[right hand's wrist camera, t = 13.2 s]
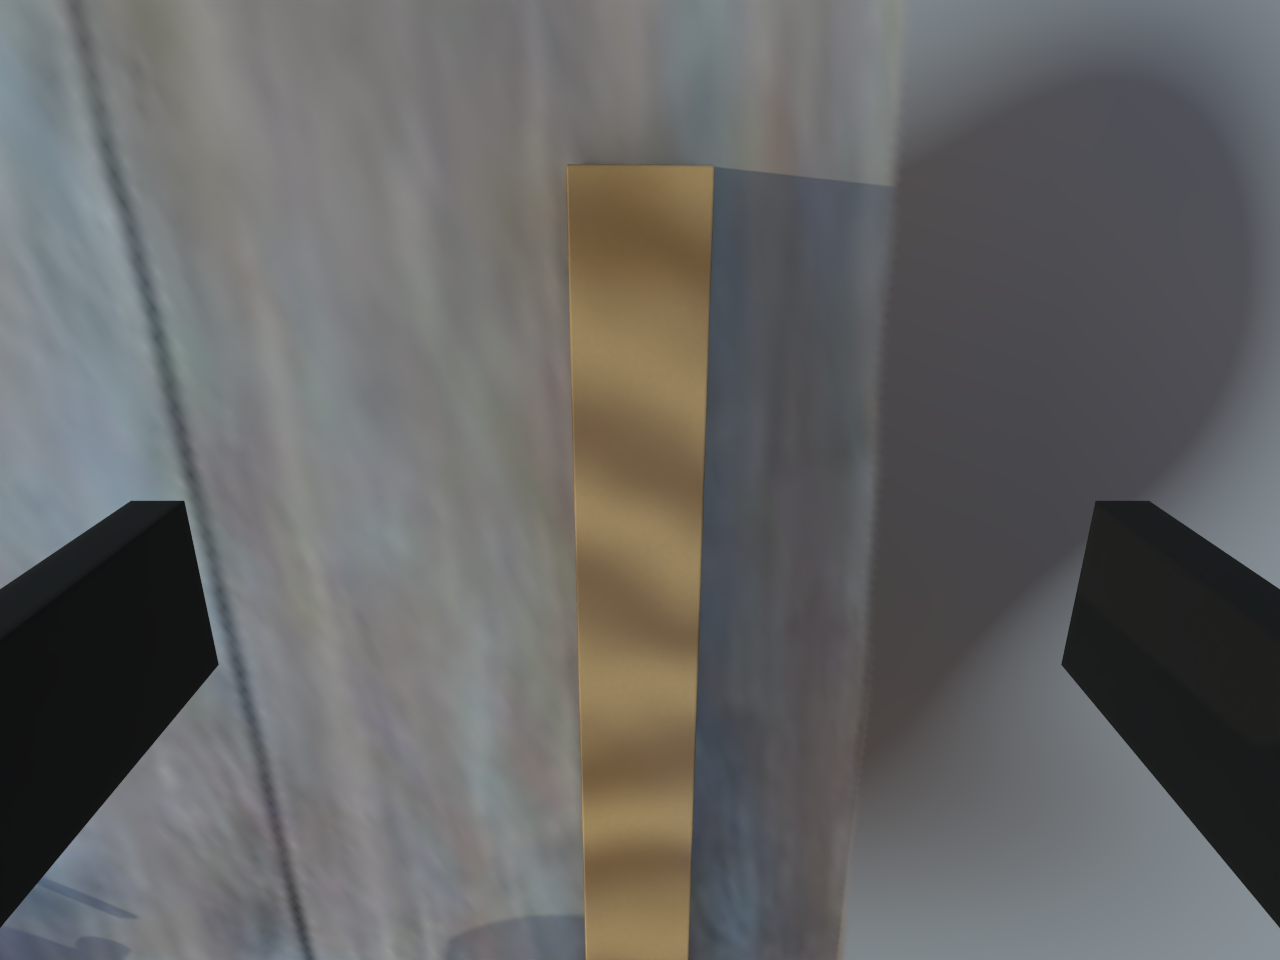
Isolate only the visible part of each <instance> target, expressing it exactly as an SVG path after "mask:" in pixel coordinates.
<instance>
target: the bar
mask: <svg viewBox="0 0 1280 960" xmlns="http://www.w3.org/2000/svg"><path fill="white" fill-rule="evenodd" d="M714 172H715V168H714V166H713V165H607V164H568V165H567V166H566V193H567V233H568V273H569V313H570V353H571V393H572V433H573V473H574V513H575V553H576V593H577V633H578V674H579V714H580V754H581V794H582V834H583V874H584V914H585V954H586V960H688V957H689V926H690V896H691V866H692V836H693V806H694V775H695V745H696V715H697V685H698V655H699V625H700V594H701V564H702V534H703V504H704V474H705V443H706V413H707V383H708V353H709V323H710V293H711V262H712V232H713V202H714Z"/></svg>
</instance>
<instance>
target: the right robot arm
mask: <svg viewBox="0 0 1280 960" xmlns="http://www.w3.org/2000/svg"><path fill="white" fill-rule="evenodd" d="M218 665H219V664H218V660H217V655H216V650H215V645H214V641H213V636H212V631H211V626H210V621H209V617H208V612H207V607H206V602H205V598H204V593H203V588H202V583H201V578H200V574H199V569H198V564H197V559H196V555H195V550H194V545H193V540H192V535H191V531H190V526H189V521H188V516H187V512H186V507H185V502H184V501H130V502H129V503H127V504H126V505H124V506H123V507H121V508H120V509H118V510H117V511H115V512H114V513H112V514H111V515H110V516H108V517H107V518H105V519H104V520H102V521H101V522H99V523H98V524H96V525H95V526H93V527H92V528H90V529H89V530H87V531H86V532H84V533H83V534H81V535H80V536H78V537H77V538H76V539H74V540H73V541H71V542H70V543H68V544H67V545H65V546H64V547H62V548H61V549H59V550H58V551H56V552H55V553H53V554H52V555H50V556H49V557H47V558H46V559H44V560H43V561H41V562H40V563H39V564H37V565H36V566H34V567H33V568H31V569H30V570H28V571H27V572H25V573H24V574H22V575H21V576H19V577H18V578H16V579H15V580H13V581H12V582H10V583H9V584H7V585H6V586H5V587H3V588H2V589H0V927H1V926H2V925H3V924H4V923H5V921H6V920H7V919H8V918H9V917H10V915H11V914H12V913H13V912H14V911H15V909H16V908H17V907H18V906H19V905H20V903H21V902H22V901H23V900H24V898H25V897H26V896H27V895H28V894H29V892H30V891H31V890H32V889H33V888H34V886H35V885H36V884H37V883H38V882H39V880H40V879H41V878H42V877H43V876H44V874H45V873H46V872H47V871H48V870H49V868H50V867H51V866H52V865H53V864H54V862H55V861H56V860H57V859H58V858H59V856H60V855H61V854H62V853H63V851H64V850H65V849H66V848H67V847H68V845H69V844H70V843H71V842H72V841H73V839H74V838H75V837H76V836H77V835H78V833H79V832H80V831H81V830H82V829H83V827H84V826H85V825H86V824H87V823H88V821H89V820H90V819H91V818H92V817H93V815H94V814H95V813H96V812H97V811H98V809H99V808H100V807H101V806H102V804H103V803H104V802H105V801H106V800H107V798H108V797H109V796H110V795H111V794H112V792H113V791H114V790H115V789H116V788H117V786H118V785H119V784H120V783H121V782H122V780H123V779H124V778H125V777H126V776H127V774H128V773H129V772H130V771H131V770H132V768H133V767H134V766H135V765H136V764H137V762H138V761H139V760H140V759H141V758H142V756H143V755H144V754H145V753H146V751H147V750H148V749H149V748H150V747H151V745H152V744H153V743H154V742H155V741H156V739H157V738H158V737H159V736H160V735H161V733H162V732H163V731H164V730H165V729H166V727H167V726H168V725H169V724H170V723H171V721H172V720H173V719H174V718H175V717H176V715H177V714H178V713H179V712H180V711H181V709H182V708H183V707H184V706H185V704H186V703H187V702H188V701H189V700H190V698H191V697H192V696H193V695H194V694H195V692H196V691H197V690H198V689H199V688H200V686H201V685H202V684H203V683H204V682H205V680H206V679H207V678H208V677H209V676H210V674H211V673H212V672H213V671H214V670H215V668H216V667H217V666H218ZM1062 666H1063V667H1064V668H1065V670H1066V671H1067V672H1068V673H1069V674H1070V676H1071V677H1072V678H1073V679H1074V680H1075V682H1076V683H1077V684H1078V685H1079V686H1080V688H1081V689H1082V690H1083V691H1084V692H1085V694H1086V695H1087V696H1088V697H1089V698H1090V700H1091V701H1092V702H1093V703H1094V704H1095V706H1096V707H1097V708H1098V709H1099V711H1100V712H1101V713H1102V714H1103V715H1104V716H1105V718H1106V719H1107V720H1108V721H1109V723H1110V724H1111V725H1112V726H1113V727H1114V729H1115V730H1116V731H1117V732H1118V733H1119V735H1120V736H1121V737H1122V738H1123V739H1124V741H1125V742H1126V743H1127V744H1128V745H1129V747H1130V748H1131V749H1132V750H1133V751H1134V753H1135V754H1136V755H1137V756H1138V758H1139V759H1140V760H1141V761H1142V762H1143V764H1144V765H1145V766H1146V767H1147V768H1148V770H1149V771H1150V772H1151V773H1152V774H1153V776H1154V777H1155V778H1156V779H1157V780H1158V782H1159V783H1160V784H1161V785H1162V786H1163V788H1164V789H1165V790H1166V791H1167V792H1168V794H1169V795H1170V796H1171V797H1172V798H1173V800H1174V801H1175V802H1176V803H1177V805H1178V806H1179V807H1180V808H1181V809H1182V810H1183V812H1184V813H1185V814H1186V815H1187V817H1188V818H1189V819H1190V820H1191V821H1192V823H1193V824H1194V825H1195V826H1196V827H1197V829H1198V830H1199V831H1200V832H1201V833H1202V835H1203V836H1204V837H1205V838H1206V839H1207V841H1208V842H1209V843H1210V844H1211V845H1212V847H1213V848H1214V849H1215V850H1216V851H1217V853H1218V854H1219V855H1220V856H1221V858H1222V859H1223V860H1224V861H1225V862H1226V863H1227V865H1228V866H1229V867H1230V868H1231V870H1232V871H1233V872H1234V873H1235V874H1236V876H1237V877H1238V878H1239V879H1240V880H1241V882H1242V883H1243V884H1244V885H1245V886H1246V888H1247V889H1248V890H1249V891H1250V892H1251V894H1252V895H1253V896H1254V897H1255V898H1256V900H1257V901H1258V902H1259V903H1260V905H1261V906H1262V907H1263V908H1264V909H1265V911H1266V912H1267V913H1268V914H1269V915H1270V917H1271V918H1272V919H1273V920H1274V921H1275V922H1276V924H1277V925H1278V926H1279V927H1280V589H1278V588H1277V587H1276V586H1274V585H1272V584H1271V583H1270V582H1268V581H1267V580H1265V579H1264V578H1262V577H1261V576H1259V575H1258V574H1256V573H1255V572H1253V571H1252V570H1250V569H1249V568H1247V567H1246V566H1244V565H1243V564H1241V563H1240V562H1239V561H1237V560H1236V559H1234V558H1233V557H1231V556H1230V555H1228V554H1227V553H1225V552H1224V551H1222V550H1221V549H1219V548H1218V547H1216V546H1215V545H1213V544H1212V543H1210V542H1209V541H1207V540H1206V539H1204V538H1203V537H1202V536H1200V535H1198V534H1197V533H1196V532H1194V531H1193V530H1191V529H1190V528H1188V527H1187V526H1185V525H1184V524H1182V523H1181V522H1179V521H1178V520H1176V519H1175V518H1173V517H1172V516H1170V515H1169V514H1167V513H1166V512H1165V511H1163V510H1162V509H1160V508H1159V507H1157V506H1156V505H1154V504H1153V503H1151V502H1150V501H1096V502H1095V507H1094V512H1093V516H1092V521H1091V526H1090V531H1089V536H1088V540H1087V545H1086V550H1085V555H1084V559H1083V564H1082V569H1081V574H1080V578H1079V583H1078V588H1077V593H1076V598H1075V602H1074V607H1073V612H1072V617H1071V621H1070V626H1069V631H1068V636H1067V641H1066V645H1065V650H1064V655H1063V660H1062Z"/></svg>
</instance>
